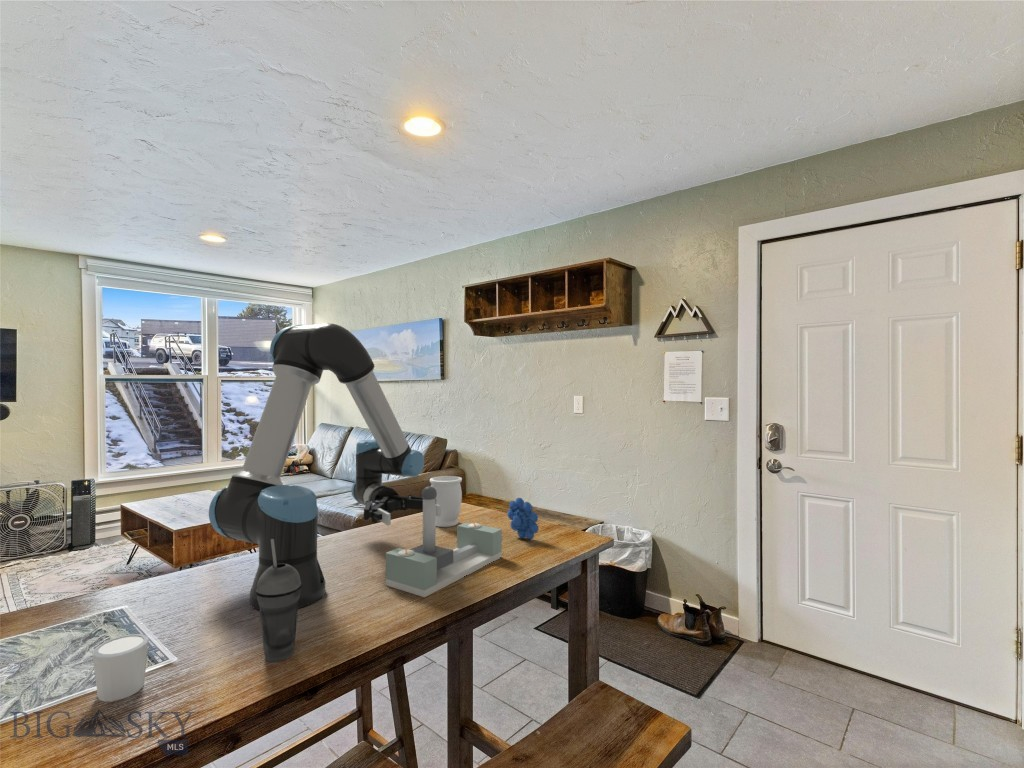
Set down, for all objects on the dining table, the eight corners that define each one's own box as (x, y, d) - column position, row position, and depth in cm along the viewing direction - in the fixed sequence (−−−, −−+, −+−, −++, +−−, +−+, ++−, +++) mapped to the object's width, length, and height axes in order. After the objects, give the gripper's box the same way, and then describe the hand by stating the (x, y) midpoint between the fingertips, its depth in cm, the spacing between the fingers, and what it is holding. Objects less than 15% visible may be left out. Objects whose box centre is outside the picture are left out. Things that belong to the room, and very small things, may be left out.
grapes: (498, 537, 153) (498, 497, 153) (513, 532, 158) (513, 494, 158) (528, 546, 146) (528, 504, 146) (543, 540, 151) (543, 499, 151)
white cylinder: (90, 710, 73) (90, 661, 73) (94, 686, 79) (93, 641, 79) (149, 693, 77) (149, 647, 77) (148, 672, 83) (148, 629, 83)
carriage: (433, 571, 116) (433, 491, 116) (404, 564, 121) (404, 486, 121) (453, 562, 122) (453, 486, 122) (425, 555, 127) (425, 481, 127)
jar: (450, 517, 175) (450, 474, 175) (468, 524, 167) (468, 478, 167) (423, 523, 168) (423, 477, 168) (440, 530, 160) (440, 482, 160)
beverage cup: (290, 667, 84) (290, 546, 84) (246, 666, 84) (246, 545, 84) (309, 644, 92) (308, 532, 91) (268, 643, 92) (268, 532, 92)
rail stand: (424, 597, 111) (424, 560, 111) (385, 585, 118) (385, 550, 118) (501, 557, 136) (501, 527, 136) (466, 549, 143) (466, 520, 143)
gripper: (421, 505, 152) (458, 521, 135) (337, 519, 137) (366, 539, 120) (421, 480, 152) (458, 493, 135) (337, 491, 137) (366, 507, 120)
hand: (414, 515), depth 127 cm, fingers open, 13 cm apart
